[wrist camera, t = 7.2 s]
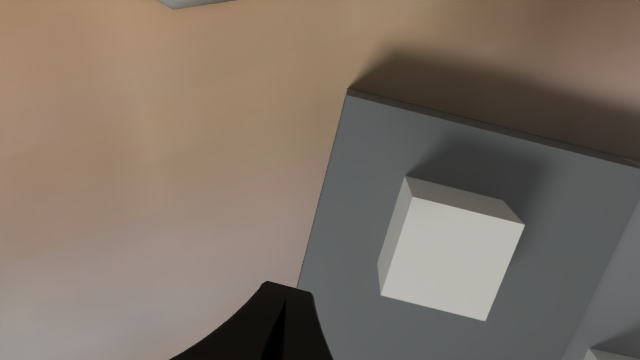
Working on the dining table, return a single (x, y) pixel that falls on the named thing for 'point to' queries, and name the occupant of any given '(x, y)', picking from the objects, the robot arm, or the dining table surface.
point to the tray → (614, 302)
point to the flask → (188, 3)
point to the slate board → (477, 177)
